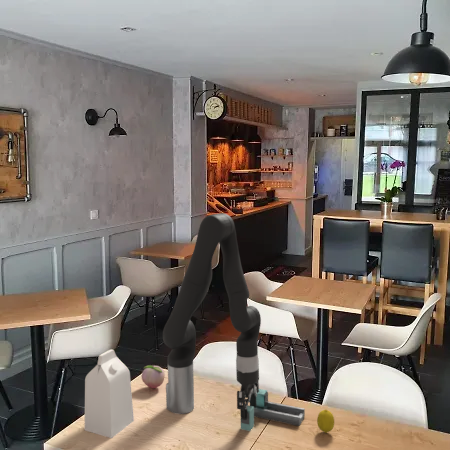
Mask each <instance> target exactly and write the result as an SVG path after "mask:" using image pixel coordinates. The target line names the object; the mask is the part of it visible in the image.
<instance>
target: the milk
mask: <svg viewBox="0 0 450 450" xmlns="http://www.w3.org/2000/svg"><path fill="white" fill-rule="evenodd" d="M131 382H132V381H131V372H130V370H129V368H128V367H127V366H126V364H125V363H123V362H122V361H121V359H119V357H118V356H117V354H116V352H115V350H114V349H108V350H107V351H105V352H103V353H101V354H99V355H98V360H97V364H96V365H95V366H94V367H93V368H92V369H91V370H90V371H89V372H88V373H87V374H86V376H85V379H84V431H86V432H89V433H94V434H96V435H99V436H103V437H106V438H110V439H113V438H114V437H115V436H117V435H118V434H119V433H121V431H123V430H125V428H126V427H129V425H131V424H132V423H133V422H134V421H135V418H134V417H135V416H134V408H133V407H134V406H133V395H132V394H133V393H132V383H131Z"/></svg>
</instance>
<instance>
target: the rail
mask: <svg viewBox="0 0 450 450" xmlns="http://www.w3.org/2000/svg"><path fill="white" fill-rule="evenodd" d="M305 410H306V409H305V408H304V407H298V406H293V405H288V404H284V403H283V404H282V403H279V402H273V401H269V392H268V390H267V389H262V388H259V392H258V393H257V397H256V408H254V418H259V419H264V420H269V421H274V422H278V423H283V424H288V425H293V426H298V427H300V426H301V424H302V422H303V421H304V418H305V417H306V416H305V415H306V414H305V413H306V411H305Z"/></svg>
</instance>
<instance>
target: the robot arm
mask: <svg viewBox="0 0 450 450" xmlns="http://www.w3.org/2000/svg"><path fill="white" fill-rule="evenodd" d="M237 239H238V238H237V232H236V226H235V222H234V220H233V218H232V217H231V216H230V215H229V214H227V213H225V212H224V213H221V212H220V213H215V214H214V213H213V214H209V215H207V216H205V217H204V218H203V219H202V221H201V222H200V225H199V228H198V231H197V237H196V241H195V244H194V249H193V252H192V255H191V257H190V259H189V260H190V261H189V263H188V266H187V269H186V271H185V273H184V277H183V280H182V282H181V285H180V289H179V292H178V294H177V296H176V300H175V303H174V306H173V308H172V310H171V313H170V315H169V317H168V319H167V321H166V323H165V325H164V327H163V330H162V339H163V343H164V344H165V346H166V347H168V348H169V349H171V350H170V352H169V354H168V356H167V383H166V384H165V396H166V397H165V400H166V401H165V402H166V404H165V405H166V410H168V411H170V412H171V413H173V414H175V415H176V414H177V415H185V414H188V413H191V412H192V411H193V410H194V409H195V389H194V388H195V387H194V386H195V383H194V357H195V354H196V342H197V341H196V337H197V334H196V328H195V325H194V323H193V321H191V318H192V317H193V315H194V313H195V312H196V311H197V309H198V308H199V307H200V306H201V304H202V303H203V300H204V299H205V297H206V296H207V293H208V290H209V288H210V287H211V286H210V285H211V282H212V280H213V267H212V264H213V263H212V260H213V257H214V254H215V252H216V249H217V247H218V245H219V247H220V249H221V253H222V259H223V260H222V264H223V265H222V278H223V279H222V280H223V283H224V286H225V290H226V293H227V297H228V300H229V301H228V302H229V305H228V306H229V307H228V308H229V316H230V321H231V324H232V326H233V328H234V329H235V330H236V331H237V332H240V334H239V335H238V337H237V338H236V344H235V345H236V347H235V348H236V357H235V358H236V359H235V368H236V369H235V370H236V372H235V373H236V374H235V375H236V381H237V383H239V384H240V389H239V390H237V392H236V409H237V410H239V411H240V413H241V414H240V413H239V414H240V420H241V419H243V420H247V418H248V413H247V407H248V405H249V406H254V408H256V397H257V393H258V392H259V389H260V387H259V384H260V383H259V381H260V366H259V365H260V363H259V362H260V361H259V351H258V350H259V349H258V346H259V345H258V339H259V336H260V335H259V334H260V330H261V325H262V319H261V317H262V316H261V313H260V311H259V310H258V308H257V307H256V306H253V305H247V300H248V299H249V297H250V291H249V287H248V284H247V281H246V277H245V275H244V271H243V267H242V262H241V257H240V251H239V245H238V240H237Z"/></svg>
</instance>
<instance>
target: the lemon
mask: <svg viewBox="0 0 450 450" xmlns="http://www.w3.org/2000/svg"><path fill="white" fill-rule="evenodd" d="M316 421H317V422H316V423H317V426H318V429H319V431H320V430H321V432H324V434H327V433H329V432H331V431H332V430H333V429H334V427H335V417H334V415H333V413H332V412H331V411H330V410H328V409H323V410H320V411H319V413H318V415H317V420H316Z"/></svg>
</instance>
